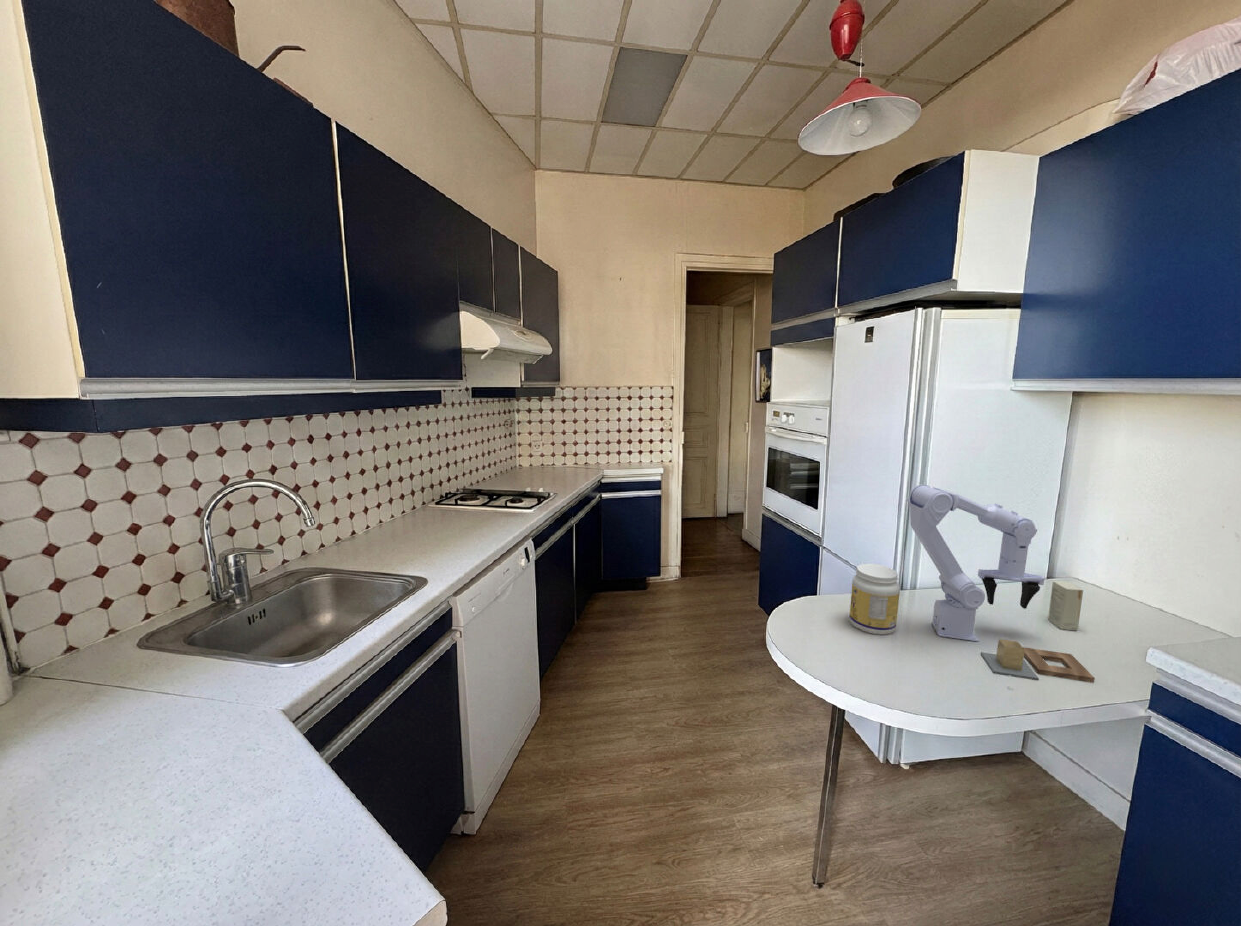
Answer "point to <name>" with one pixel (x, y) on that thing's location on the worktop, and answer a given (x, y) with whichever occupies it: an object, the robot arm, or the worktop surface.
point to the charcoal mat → (998, 669)
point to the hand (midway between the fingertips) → (1006, 605)
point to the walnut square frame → (1071, 671)
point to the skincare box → (1065, 605)
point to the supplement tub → (875, 599)
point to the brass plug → (1010, 654)
